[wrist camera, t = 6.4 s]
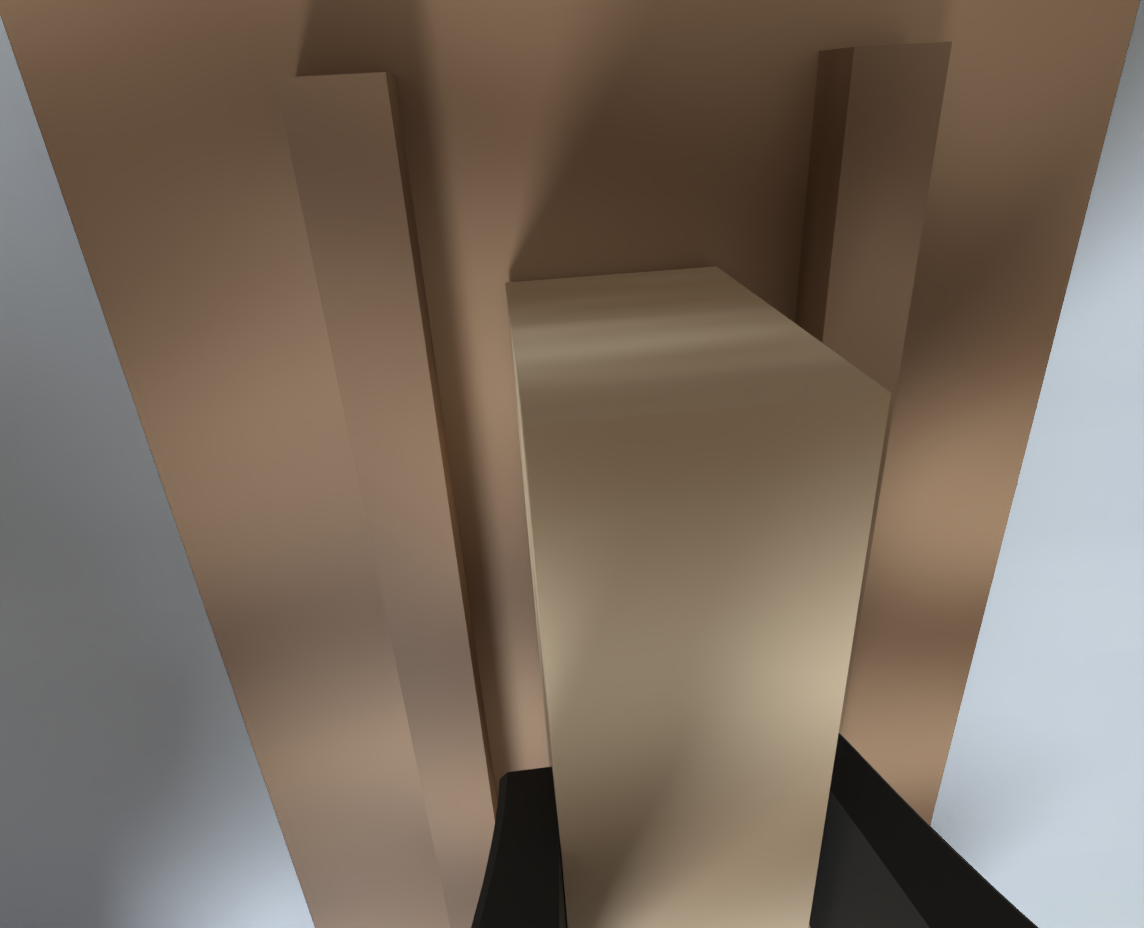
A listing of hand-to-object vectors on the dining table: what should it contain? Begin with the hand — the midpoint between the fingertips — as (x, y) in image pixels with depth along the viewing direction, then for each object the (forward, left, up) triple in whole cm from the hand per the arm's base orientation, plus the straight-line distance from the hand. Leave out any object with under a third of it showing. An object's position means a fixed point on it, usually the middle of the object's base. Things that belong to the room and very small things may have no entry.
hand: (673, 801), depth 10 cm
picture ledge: (0, 0, -5) cm, 5 cm away
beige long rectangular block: (0, 0, -4) cm, 4 cm away
